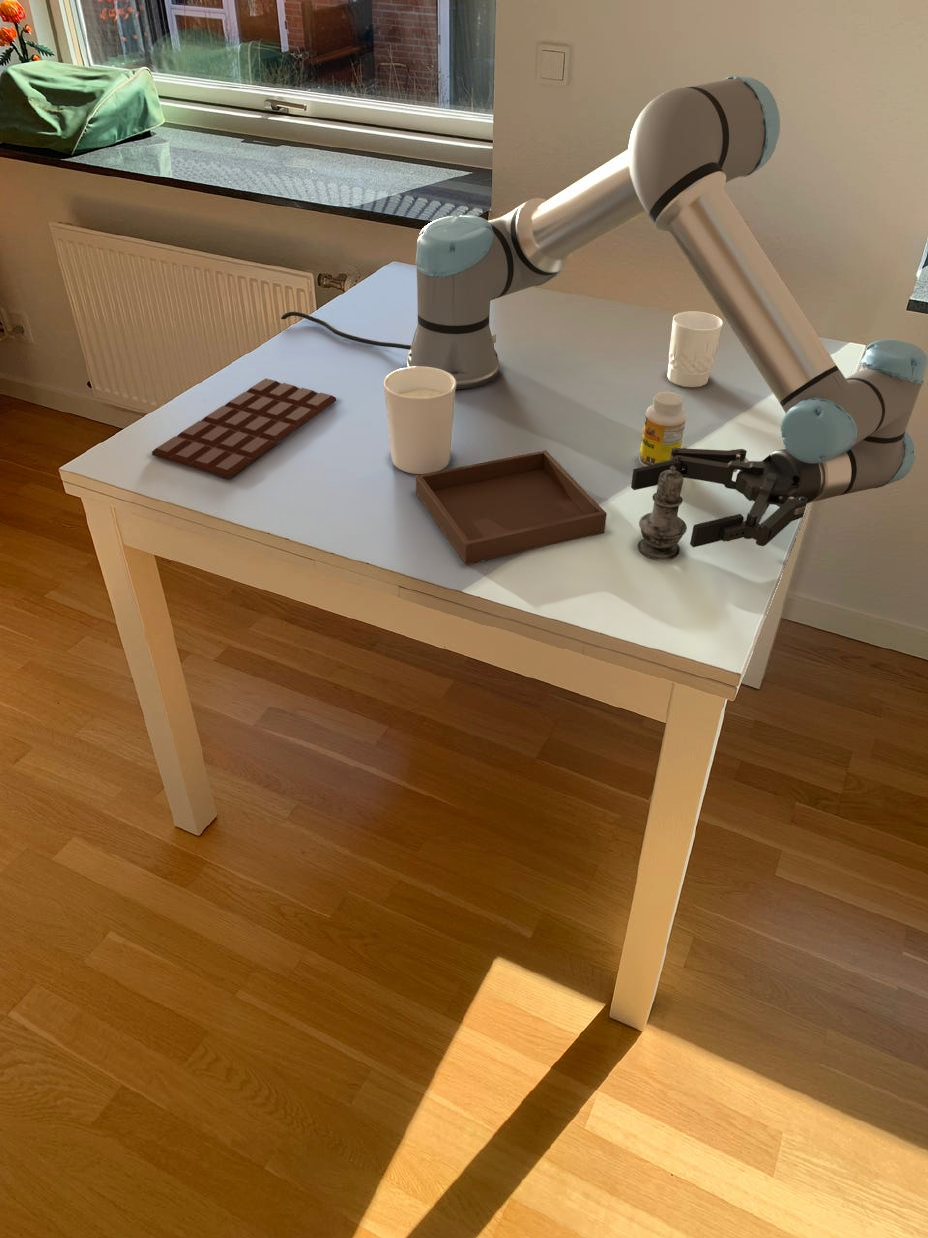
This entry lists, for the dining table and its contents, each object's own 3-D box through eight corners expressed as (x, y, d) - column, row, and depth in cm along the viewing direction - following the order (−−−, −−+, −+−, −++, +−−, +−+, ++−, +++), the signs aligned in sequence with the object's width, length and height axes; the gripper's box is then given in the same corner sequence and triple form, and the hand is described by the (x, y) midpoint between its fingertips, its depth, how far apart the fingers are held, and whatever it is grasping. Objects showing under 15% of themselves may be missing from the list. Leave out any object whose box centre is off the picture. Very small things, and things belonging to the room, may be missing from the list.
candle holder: (404, 483, 132) (402, 403, 125) (375, 451, 139) (372, 374, 132) (467, 467, 136) (469, 389, 129) (436, 437, 143) (436, 361, 135)
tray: (465, 564, 118) (465, 544, 116) (415, 494, 130) (415, 475, 129) (604, 532, 124) (607, 513, 122) (544, 468, 136) (546, 449, 135)
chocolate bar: (265, 382, 156) (265, 376, 155) (336, 400, 151) (335, 394, 151) (152, 455, 137) (150, 448, 136) (229, 478, 132) (228, 472, 132)
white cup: (658, 369, 163) (667, 311, 156) (704, 368, 163) (715, 310, 157) (670, 389, 157) (680, 330, 150) (717, 388, 157) (729, 329, 151)
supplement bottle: (633, 455, 140) (642, 389, 133) (669, 452, 141) (680, 387, 134) (645, 474, 136) (656, 408, 129) (683, 471, 136) (695, 405, 130)
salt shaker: (681, 565, 119) (698, 480, 111) (633, 558, 120) (647, 474, 112) (682, 538, 123) (699, 455, 116) (636, 532, 124) (649, 450, 117)
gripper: (861, 550, 117) (715, 589, 111) (740, 454, 135) (608, 483, 129) (879, 497, 113) (728, 535, 106) (751, 405, 130) (614, 432, 124)
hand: (662, 506), depth 117 cm, fingers open, 13 cm apart
